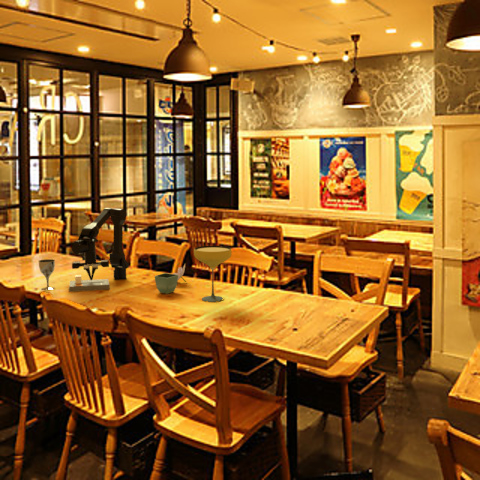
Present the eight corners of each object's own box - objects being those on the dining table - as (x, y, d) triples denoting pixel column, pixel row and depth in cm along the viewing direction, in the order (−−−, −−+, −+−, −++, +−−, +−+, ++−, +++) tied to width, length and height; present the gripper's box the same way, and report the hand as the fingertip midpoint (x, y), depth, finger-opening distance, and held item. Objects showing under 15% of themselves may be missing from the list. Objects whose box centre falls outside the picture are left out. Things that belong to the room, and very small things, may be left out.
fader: (81, 284, 298) (81, 274, 297) (81, 286, 293) (81, 276, 292) (75, 284, 297) (75, 275, 296) (75, 286, 292) (75, 277, 291)
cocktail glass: (187, 301, 268) (187, 250, 264) (203, 293, 285) (203, 244, 281) (222, 305, 262) (222, 252, 258) (236, 296, 278) (237, 247, 275)
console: (108, 283, 306) (108, 278, 305) (109, 289, 292) (109, 284, 292) (70, 285, 301) (70, 280, 300) (69, 291, 287) (69, 286, 287)
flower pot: (167, 295, 280) (167, 277, 279) (154, 293, 285) (154, 275, 283) (178, 291, 288) (178, 274, 286) (165, 289, 292) (165, 272, 291)
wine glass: (41, 291, 288) (39, 262, 285) (38, 288, 295) (37, 259, 292) (57, 289, 291) (55, 261, 289) (54, 286, 298) (53, 258, 296)
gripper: (108, 247, 304) (109, 276, 306) (72, 249, 299) (73, 277, 302) (108, 251, 293) (109, 280, 296) (71, 253, 289) (72, 282, 291)
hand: (91, 280), depth 296 cm, fingers closed
